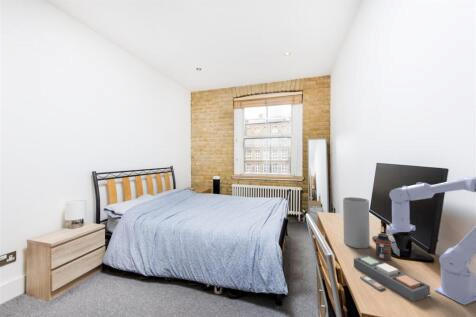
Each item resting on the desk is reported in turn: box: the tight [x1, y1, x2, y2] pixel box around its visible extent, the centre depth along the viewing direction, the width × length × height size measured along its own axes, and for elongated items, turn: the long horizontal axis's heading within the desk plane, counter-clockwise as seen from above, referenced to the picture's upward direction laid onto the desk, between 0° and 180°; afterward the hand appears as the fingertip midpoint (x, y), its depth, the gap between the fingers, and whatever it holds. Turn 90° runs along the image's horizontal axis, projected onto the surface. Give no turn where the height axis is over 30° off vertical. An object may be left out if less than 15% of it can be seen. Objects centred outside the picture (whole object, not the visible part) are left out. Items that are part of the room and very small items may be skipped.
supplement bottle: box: [375, 232, 392, 261], centre depth 97 cm, size 6×6×11 cm
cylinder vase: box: [342, 196, 371, 249], centre depth 113 cm, size 12×12×25 cm
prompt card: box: [359, 275, 386, 291], centre depth 78 cm, size 3×8×1 cm, turn 18°
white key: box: [376, 262, 399, 277], centre depth 81 cm, size 5×5×3 cm
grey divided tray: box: [353, 254, 431, 302], centre depth 81 cm, size 9×24×4 cm, turn 18°
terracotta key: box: [396, 275, 420, 290], centre depth 74 cm, size 5×5×3 cm
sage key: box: [360, 257, 380, 267], centre depth 88 cm, size 5×5×3 cm
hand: (401, 249), depth 84 cm, fingers closed
